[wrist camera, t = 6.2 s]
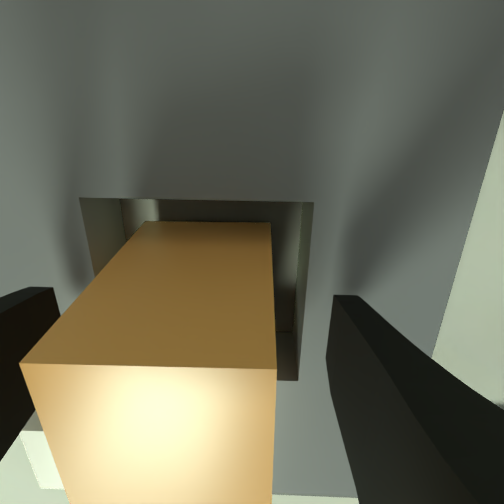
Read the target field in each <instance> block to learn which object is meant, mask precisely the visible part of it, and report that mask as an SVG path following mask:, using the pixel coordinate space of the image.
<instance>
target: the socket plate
mask: <svg viewBox="0 0 504 504" xmlns="http://www.w3.org/2000/svg"><path fill="white" fill-rule="evenodd" d="M503 110H504V0H0V297H2V296H5V295H7V294H10V293H12V292H15V291H18V290H21V289H24V288H27V287H30V286H31V287H53V288H54V292H55V296H56V300H57V303H58V307H59V311H60V315H62V314H63V313H64V312H65V311H66V310H67V309H68V308H69V306H70V305H71V304H72V303H73V302H74V301H75V300H76V299H77V297H78V296H79V295H80V294H81V293H82V292H83V291H84V290H85V288H86V287H87V286H88V285H89V284H90V283H91V282H92V281H93V279H94V278H95V277H96V276H97V275H98V274H99V273H100V272H101V270H102V269H103V268H104V267H105V266H106V265H107V264H108V263H109V261H110V260H111V259H112V258H113V257H114V256H115V255H116V254H117V252H118V251H119V250H120V249H121V248H122V247H123V246H124V245H125V243H126V238H125V232H124V225H123V219H122V212H121V206H120V199H119V198H133V199H182V200H231V201H280V202H302V214H301V228H300V241H299V255H298V268H297V281H296V295H295V308H294V322H293V333H292V332H275V336H276V359H277V381H276V406H275V431H274V455H273V480H272V494H276V495H301V496H326V497H350V498H358V496H357V492H356V487H355V483H354V480H353V476H352V472H351V469H350V465H349V461H348V458H347V454H346V450H345V447H344V443H343V439H342V436H341V432H340V428H339V424H338V421H337V417H336V413H335V409H334V406H333V402H332V398H331V394H330V387H329V380H328V373H327V366H326V359H325V357H326V349H327V341H328V334H329V326H330V318H331V310H332V302H333V295H358V296H359V297H361V298H362V299H363V300H364V301H365V302H366V303H368V304H369V305H370V306H371V307H372V308H373V309H374V310H375V311H376V312H378V313H379V314H380V315H381V316H382V317H383V318H384V319H385V320H386V321H388V322H389V323H390V324H391V325H392V326H393V327H394V328H395V329H397V330H398V331H399V332H400V333H401V334H402V335H404V336H405V337H406V338H407V339H408V340H409V341H411V342H412V343H413V344H414V345H415V346H417V347H418V348H419V349H420V350H421V351H423V352H424V353H425V354H426V355H428V356H429V357H430V358H431V357H432V354H433V350H434V347H435V344H436V340H437V337H438V333H439V330H440V326H441V323H442V320H443V316H444V313H445V309H446V306H447V302H448V299H449V296H450V292H451V289H452V285H453V282H454V278H455V275H456V272H457V268H458V265H459V261H460V258H461V254H462V251H463V248H464V244H465V241H466V237H467V234H468V230H469V227H470V224H471V220H472V217H473V213H474V210H475V206H476V203H477V200H478V196H479V193H480V189H481V186H482V182H483V179H484V176H485V172H486V169H487V165H488V162H489V158H490V155H491V152H492V148H493V145H494V141H495V138H496V134H497V131H498V128H499V124H500V121H501V117H502V114H503ZM19 435H20V438H21V440H22V443H23V445H24V448H25V450H26V453H27V456H28V458H29V461H30V463H31V466H32V468H33V471H34V473H35V476H36V479H37V481H38V484H39V486H40V488H44V489H64V486H63V484H62V481H61V478H60V475H59V473H58V470H57V467H56V464H55V462H54V459H53V456H52V453H51V450H50V448H49V445H48V442H47V439H46V437H45V434H44V431H43V428H42V426H41V423H40V420H39V417H38V415H37V412H36V410H35V412H34V413H33V415H32V416H31V417H30V419H29V420H28V422H27V423H26V425H25V426H24V428H23V429H22V431H21V432H20V433H19Z"/></svg>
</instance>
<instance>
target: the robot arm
mask: <svg viewBox="0 0 504 504" xmlns="http://www.w3.org/2000/svg"><path fill="white" fill-rule="evenodd" d="M60 317H61V315H60V311H59V307H58V303H57V300H56V296H55V292H54V288H53V287H31V286H30V287H27V288H24V289H21V290H18V291H15V292H12V293H10V294H7V295H5V296H2V297H0V461H1V460H2V458H3V457H4V455H5V454H6V452H7V451H8V449H9V448H10V447H11V445H12V444H13V442H14V441H15V439H16V438H17V436H18V435H19V433H20V432H21V431H22V429H23V428H24V426H25V425H26V423H27V422H28V420H29V419H30V417H31V416H32V415H33V413H34V412H35V410H36V409H35V406H34V403H33V401H32V398H31V395H30V392H29V390H28V387H27V384H26V381H25V379H24V376H23V373H22V370H21V368H20V365H19V363H20V362H21V360H22V359H23V358H24V357H25V356H26V355H27V354H28V353H29V351H30V350H31V349H32V348H33V347H34V346H35V345H36V344H37V342H38V341H39V340H40V339H41V338H42V337H43V336H44V335H45V333H46V332H47V331H48V330H49V329H50V328H51V327H52V326H53V324H54V323H55V322H56V321H57V320H58V319H59V318H60ZM325 359H326V366H327V373H328V380H329V387H330V394H331V398H332V402H333V406H334V409H335V413H336V417H337V421H338V424H339V428H340V432H341V436H342V439H343V443H344V447H345V450H346V454H347V458H348V461H349V465H350V469H351V472H352V476H353V480H354V483H355V487H356V492H357V496H358V500H359V504H504V410H503V409H501V408H500V407H498V406H497V405H495V404H494V403H492V402H491V401H489V400H488V399H486V398H485V397H483V396H482V395H480V394H479V393H477V392H476V391H474V390H473V389H471V388H470V387H469V386H467V385H466V384H464V383H463V382H462V381H460V380H459V379H457V378H456V377H455V376H453V375H452V374H451V373H450V372H448V371H447V370H446V369H444V368H443V367H442V366H440V365H439V364H438V363H436V362H435V361H434V360H433V359H431V358H430V357H429V356H428V355H426V354H425V353H424V352H423V351H421V350H420V349H419V348H418V347H417V346H415V345H414V344H413V343H412V342H411V341H409V340H408V339H407V338H406V337H405V336H404V335H402V334H401V333H400V332H399V331H398V330H397V329H395V328H394V327H393V326H392V325H391V324H390V323H389V322H388V321H386V320H385V319H384V318H383V317H382V316H381V315H380V314H379V313H378V312H376V311H375V310H374V309H373V308H372V307H371V306H370V305H369V304H368V303H366V302H365V301H364V300H363V299H362V298H361V297H359V296H358V295H333V302H332V310H331V318H330V326H329V334H328V341H327V349H326V357H325Z"/></svg>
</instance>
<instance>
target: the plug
mask: <svg viewBox="0 0 504 504" xmlns="http://www.w3.org/2000/svg"><path fill="white" fill-rule="evenodd" d="M19 365H20V368H21V370H22V373H23V376H24V379H25V381H26V384H27V387H28V390H29V392H30V395H31V398H32V401H33V403H34V406H35V409H36V412H37V415H38V417H39V420H40V423H41V426H42V428H43V431H44V434H45V437H46V439H47V442H48V445H49V448H50V450H51V453H52V456H53V459H54V462H55V464H56V467H57V470H58V473H59V475H60V478H61V481H62V484H63V486H64V489H65V492H66V495H67V497H68V500H69V503H70V504H272V480H273V455H274V431H275V406H276V381H277V359H276V336H275V313H274V290H273V268H272V245H271V223H253V222H170V221H145V222H144V223H143V224H142V225H141V227H140V228H139V229H138V230H137V231H136V232H135V233H134V234H133V236H132V237H131V238H130V239H129V240H128V241H127V242H126V243H125V245H124V246H123V247H122V248H121V249H120V250H119V251H118V252H117V254H116V255H115V256H114V257H113V258H112V259H111V260H110V261H109V263H108V264H107V265H106V266H105V267H104V268H103V269H102V270H101V272H100V273H99V274H98V275H97V276H96V277H95V278H94V279H93V281H92V282H91V283H90V284H89V285H88V286H87V287H86V288H85V290H84V291H83V292H82V293H81V294H80V295H79V296H78V297H77V299H76V300H75V301H74V302H73V303H72V304H71V305H70V306H69V308H68V309H67V310H66V311H65V312H64V313H63V314H62V315H61V317H60V318H59V319H58V320H57V321H56V322H55V323H54V324H53V326H52V327H51V328H50V329H49V330H48V331H47V332H46V333H45V335H44V336H43V337H42V338H41V339H40V340H39V341H38V342H37V344H36V345H35V346H34V347H33V348H32V349H31V350H30V351H29V353H28V354H27V355H26V356H25V357H24V358H23V359H22V360H21V362H20V363H19Z"/></svg>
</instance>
